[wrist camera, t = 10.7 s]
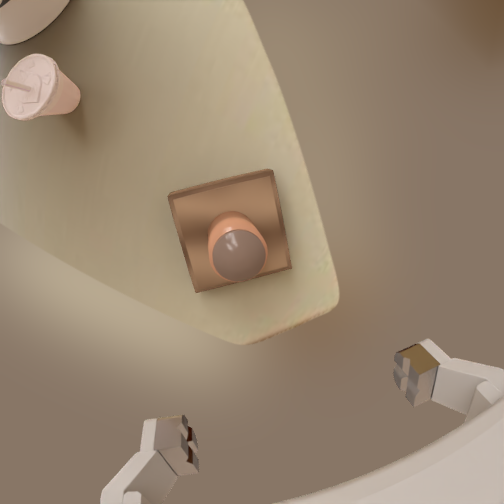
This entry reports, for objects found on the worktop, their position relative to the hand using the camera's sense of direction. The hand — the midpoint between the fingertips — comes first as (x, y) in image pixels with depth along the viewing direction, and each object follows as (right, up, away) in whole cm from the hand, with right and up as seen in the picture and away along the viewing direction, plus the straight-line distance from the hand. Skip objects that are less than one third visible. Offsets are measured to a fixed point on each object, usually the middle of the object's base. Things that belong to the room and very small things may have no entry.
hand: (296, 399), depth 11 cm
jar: (-4, +7, +22) cm, 24 cm away
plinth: (-4, +8, +25) cm, 27 cm away
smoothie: (-23, +23, +18) cm, 37 cm away
